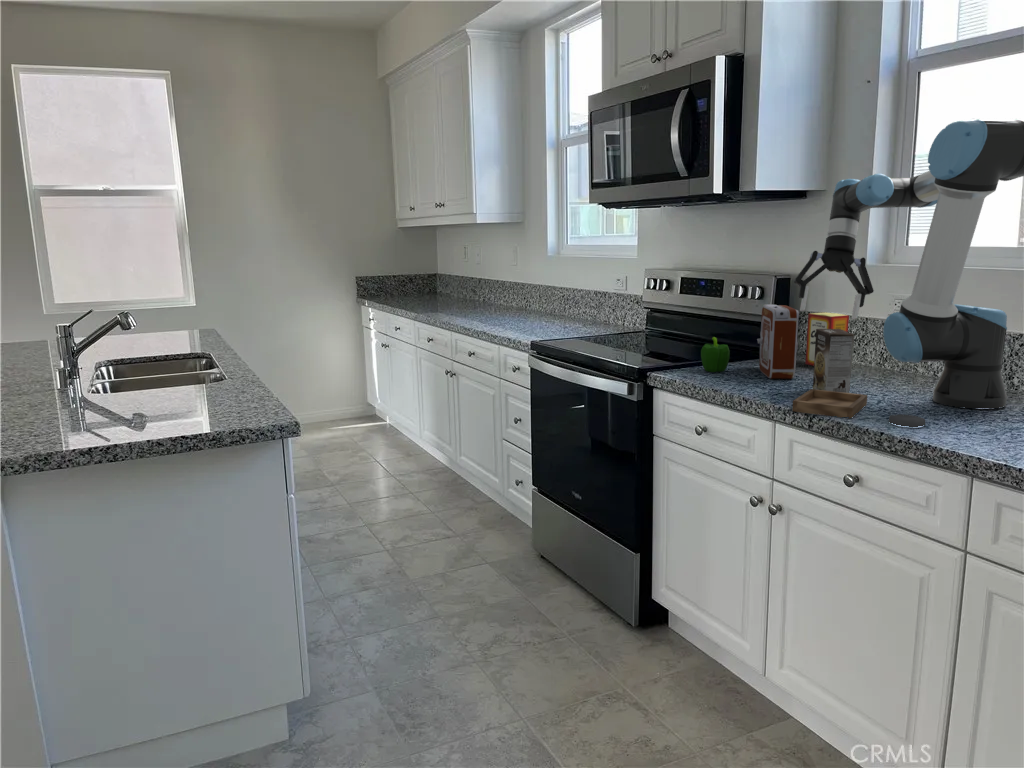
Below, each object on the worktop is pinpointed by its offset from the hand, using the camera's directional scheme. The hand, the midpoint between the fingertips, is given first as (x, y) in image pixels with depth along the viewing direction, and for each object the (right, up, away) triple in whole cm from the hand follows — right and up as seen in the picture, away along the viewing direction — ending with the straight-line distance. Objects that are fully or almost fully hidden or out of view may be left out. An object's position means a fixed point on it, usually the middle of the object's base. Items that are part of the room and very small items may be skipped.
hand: (828, 314), depth 203 cm
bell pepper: (-25, -15, +21) cm, 36 cm away
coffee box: (-4, -21, -10) cm, 24 cm away
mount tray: (-10, -25, -26) cm, 37 cm away
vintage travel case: (-9, -16, +16) cm, 24 cm away
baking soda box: (+10, -13, +26) cm, 31 cm away
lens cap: (0, -28, -40) cm, 49 cm away
